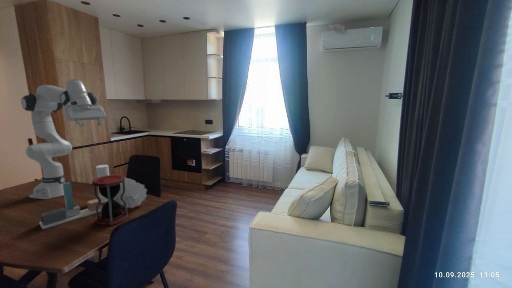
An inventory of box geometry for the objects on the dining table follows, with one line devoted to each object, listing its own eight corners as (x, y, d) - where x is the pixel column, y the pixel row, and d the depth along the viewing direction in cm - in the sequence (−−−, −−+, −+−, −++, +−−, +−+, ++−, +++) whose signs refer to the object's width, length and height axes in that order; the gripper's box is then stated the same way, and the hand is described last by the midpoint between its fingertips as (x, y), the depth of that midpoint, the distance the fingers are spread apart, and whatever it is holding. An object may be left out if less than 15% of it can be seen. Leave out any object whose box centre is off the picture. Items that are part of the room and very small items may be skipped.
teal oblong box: (45, 223, 130) (40, 189, 127) (44, 220, 132) (39, 187, 129) (80, 212, 142) (77, 181, 139) (78, 211, 145) (75, 180, 141)
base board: (42, 229, 128) (42, 227, 128) (39, 224, 133) (39, 222, 132) (104, 210, 151) (104, 208, 150) (100, 206, 156) (100, 205, 155)
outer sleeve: (44, 225, 129) (42, 216, 128) (42, 222, 132) (40, 213, 131) (66, 219, 137) (65, 210, 136) (64, 216, 140) (63, 207, 139)
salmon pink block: (91, 211, 146) (90, 203, 145) (88, 209, 149) (87, 201, 148) (102, 208, 150) (101, 200, 150) (99, 206, 154) (98, 198, 153)
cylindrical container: (105, 203, 161) (102, 167, 157) (96, 202, 163) (93, 167, 158) (113, 199, 168) (110, 165, 164) (105, 198, 169) (102, 164, 165)
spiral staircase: (126, 203, 172) (144, 211, 157) (100, 200, 158) (117, 208, 143) (134, 178, 176) (153, 184, 161) (110, 173, 162) (128, 179, 147)
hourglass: (98, 216, 143) (93, 176, 139) (128, 211, 151) (125, 173, 146) (94, 228, 129) (89, 185, 125) (127, 222, 137) (124, 181, 132)
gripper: (99, 107, 151) (106, 126, 150) (60, 107, 133) (69, 130, 132) (103, 102, 147) (111, 122, 146) (64, 102, 130) (73, 125, 129)
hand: (91, 126), depth 139 cm, fingers open, 8 cm apart
